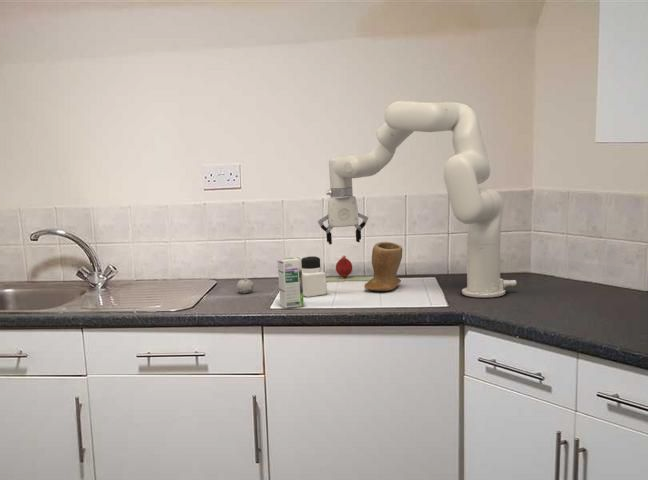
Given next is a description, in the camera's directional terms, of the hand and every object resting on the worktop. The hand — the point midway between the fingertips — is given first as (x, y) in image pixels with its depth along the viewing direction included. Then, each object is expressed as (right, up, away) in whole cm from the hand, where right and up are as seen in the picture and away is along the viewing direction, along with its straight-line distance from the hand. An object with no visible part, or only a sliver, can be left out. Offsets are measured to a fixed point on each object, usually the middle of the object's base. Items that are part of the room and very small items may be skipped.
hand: (344, 242), depth 262 cm
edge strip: (0, -13, +2) cm, 13 cm away
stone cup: (+11, -16, -17) cm, 26 cm away
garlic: (-34, -17, -11) cm, 40 cm away
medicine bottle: (-12, -18, -19) cm, 29 cm away
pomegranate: (0, -12, +3) cm, 13 cm away
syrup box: (-20, -21, -34) cm, 45 cm away
